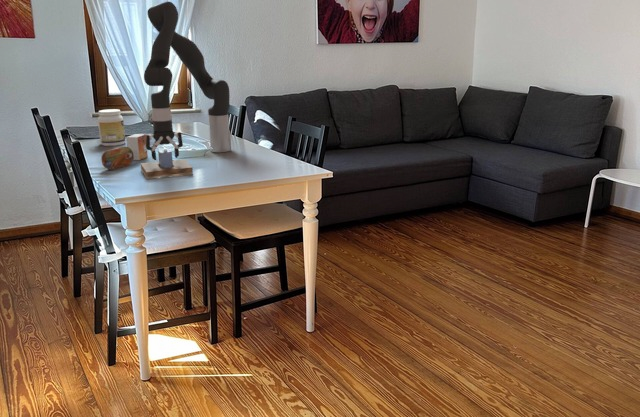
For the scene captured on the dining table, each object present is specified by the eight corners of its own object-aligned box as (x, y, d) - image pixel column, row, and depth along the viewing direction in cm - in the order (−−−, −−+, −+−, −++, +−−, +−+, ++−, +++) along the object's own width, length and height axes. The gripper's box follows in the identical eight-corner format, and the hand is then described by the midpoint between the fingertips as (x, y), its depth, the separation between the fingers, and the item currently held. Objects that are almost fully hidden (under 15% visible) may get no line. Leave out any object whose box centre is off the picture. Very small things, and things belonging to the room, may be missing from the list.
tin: (106, 171, 243) (104, 151, 240) (101, 170, 245) (99, 150, 242) (135, 164, 255) (133, 145, 253) (130, 163, 257) (128, 144, 254)
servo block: (170, 167, 245) (168, 146, 243) (174, 172, 237) (172, 150, 235) (159, 168, 244) (157, 147, 241) (162, 173, 236) (160, 151, 233)
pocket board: (184, 166, 251) (184, 159, 250) (192, 174, 237) (192, 167, 236) (141, 170, 244) (140, 163, 243) (147, 179, 230) (146, 172, 229)
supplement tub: (129, 144, 296) (125, 110, 290) (104, 147, 289) (100, 113, 284) (121, 140, 305) (118, 107, 300) (97, 143, 299) (93, 110, 294)
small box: (139, 160, 262) (137, 137, 258) (128, 160, 263) (125, 136, 259) (148, 156, 269) (146, 134, 266) (137, 156, 270) (134, 133, 267)
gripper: (178, 116, 240) (181, 155, 245) (142, 118, 234) (146, 158, 239) (181, 118, 233) (185, 158, 238) (145, 121, 228) (149, 162, 233)
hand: (165, 158), depth 239 cm, fingers open, 8 cm apart
